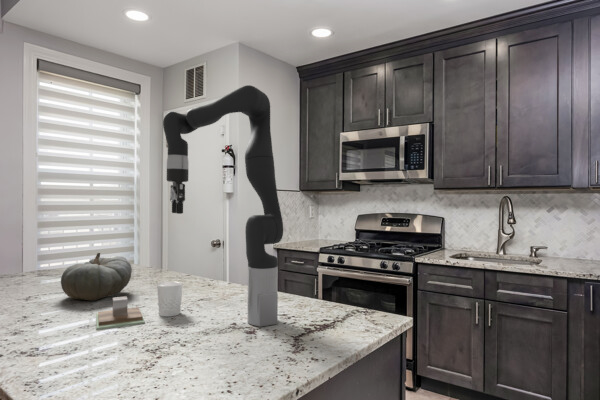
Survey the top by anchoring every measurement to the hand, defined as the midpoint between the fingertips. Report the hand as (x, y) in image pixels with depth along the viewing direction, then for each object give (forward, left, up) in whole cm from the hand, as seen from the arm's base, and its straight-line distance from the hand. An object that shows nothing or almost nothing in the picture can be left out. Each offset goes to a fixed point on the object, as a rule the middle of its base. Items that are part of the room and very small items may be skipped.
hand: (177, 213), depth 137 cm
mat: (-9, +19, -33) cm, 39 cm away
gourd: (+27, +25, -33) cm, 50 cm away
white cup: (-10, +4, -33) cm, 35 cm away
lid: (-9, +19, -32) cm, 39 cm away
